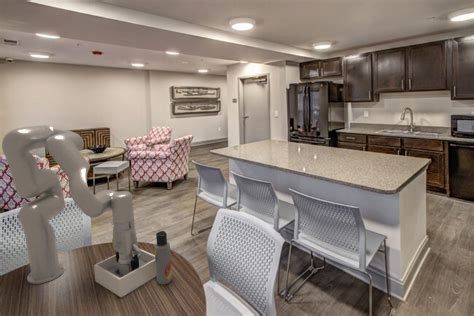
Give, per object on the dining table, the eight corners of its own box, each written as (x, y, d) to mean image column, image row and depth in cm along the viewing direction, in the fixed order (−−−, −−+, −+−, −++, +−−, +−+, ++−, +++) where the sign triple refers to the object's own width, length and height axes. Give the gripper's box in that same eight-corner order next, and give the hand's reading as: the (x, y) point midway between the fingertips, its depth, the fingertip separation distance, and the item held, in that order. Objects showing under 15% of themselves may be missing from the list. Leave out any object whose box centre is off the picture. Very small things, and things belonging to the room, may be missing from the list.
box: (95, 281, 112) (93, 265, 111) (135, 260, 127) (134, 246, 125) (121, 297, 102) (119, 279, 101) (161, 273, 117) (159, 257, 116)
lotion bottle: (174, 278, 114) (172, 230, 110) (165, 286, 108) (162, 237, 105) (163, 274, 116) (160, 228, 112) (153, 282, 111) (150, 234, 107)
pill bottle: (133, 271, 119) (131, 245, 117) (138, 277, 114) (136, 251, 112) (118, 276, 115) (115, 250, 113) (123, 284, 110) (120, 257, 108)
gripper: (102, 222, 112) (106, 262, 115) (129, 232, 102) (132, 276, 106) (119, 215, 118) (123, 254, 121) (146, 225, 108) (149, 266, 112)
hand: (127, 264), depth 113 cm, fingers open, 9 cm apart
